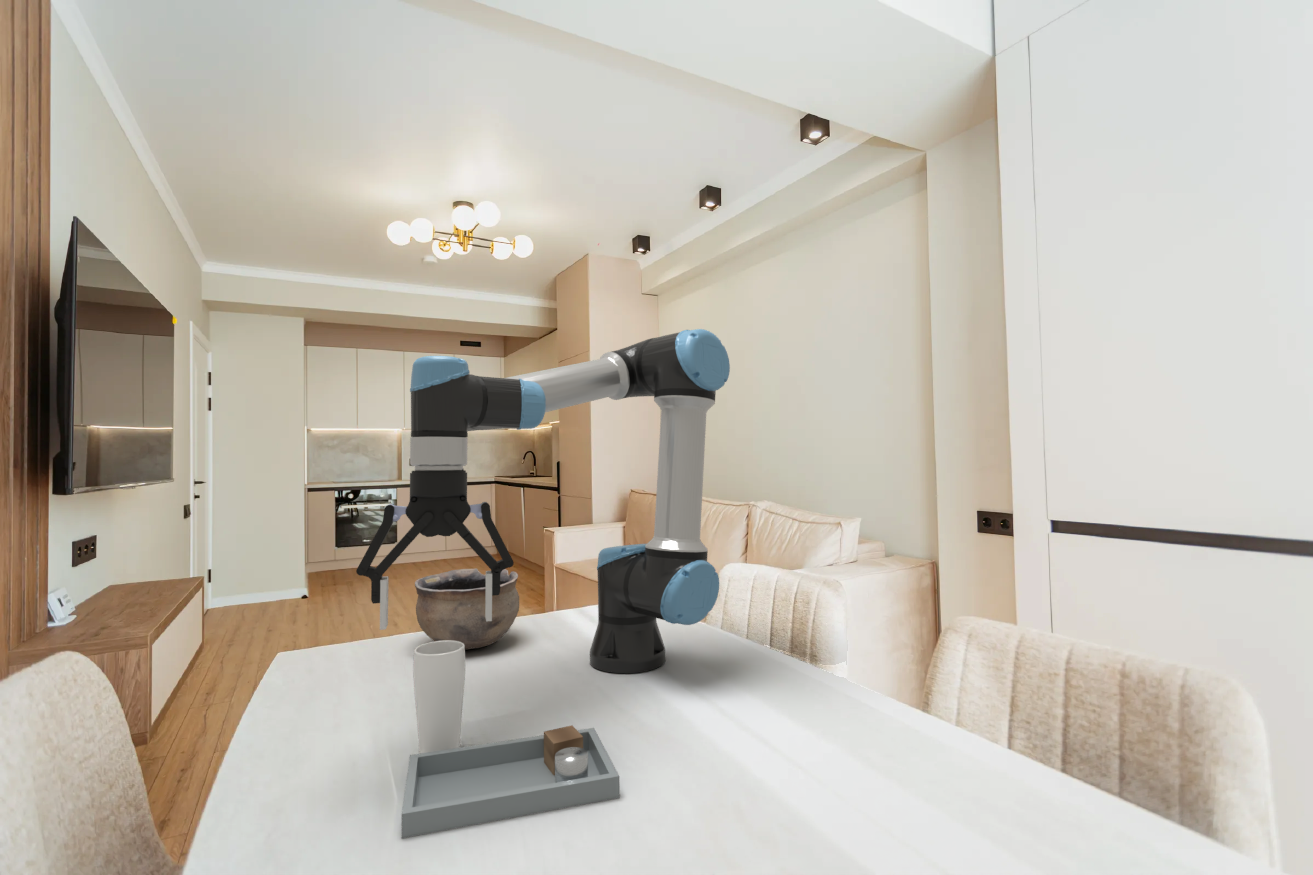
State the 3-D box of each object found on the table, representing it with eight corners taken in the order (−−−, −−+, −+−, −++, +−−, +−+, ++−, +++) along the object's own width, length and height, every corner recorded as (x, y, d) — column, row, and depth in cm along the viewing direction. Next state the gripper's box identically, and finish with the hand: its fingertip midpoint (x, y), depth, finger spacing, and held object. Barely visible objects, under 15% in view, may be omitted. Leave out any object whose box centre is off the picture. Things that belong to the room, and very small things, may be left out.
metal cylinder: (584, 777, 79) (584, 744, 79) (591, 793, 75) (590, 759, 75) (552, 782, 78) (552, 749, 78) (557, 799, 74) (557, 764, 74)
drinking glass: (449, 771, 82) (449, 656, 82) (402, 767, 83) (402, 653, 84) (474, 747, 89) (474, 641, 89) (431, 744, 90) (430, 638, 90)
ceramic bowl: (538, 635, 144) (538, 570, 144) (482, 666, 123) (482, 589, 123) (457, 628, 151) (457, 565, 151) (391, 655, 130) (391, 583, 131)
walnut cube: (572, 754, 85) (572, 725, 85) (583, 767, 81) (583, 736, 81) (543, 762, 83) (543, 731, 83) (553, 775, 79) (553, 743, 80)
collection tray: (594, 749, 87) (594, 727, 88) (619, 802, 74) (619, 775, 74) (410, 779, 80) (410, 754, 80) (401, 843, 67) (401, 813, 67)
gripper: (527, 467, 94) (526, 609, 94) (344, 468, 87) (341, 623, 86) (533, 468, 87) (532, 622, 87) (334, 469, 80) (331, 638, 79)
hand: (437, 623), depth 86 cm, fingers open, 13 cm apart
